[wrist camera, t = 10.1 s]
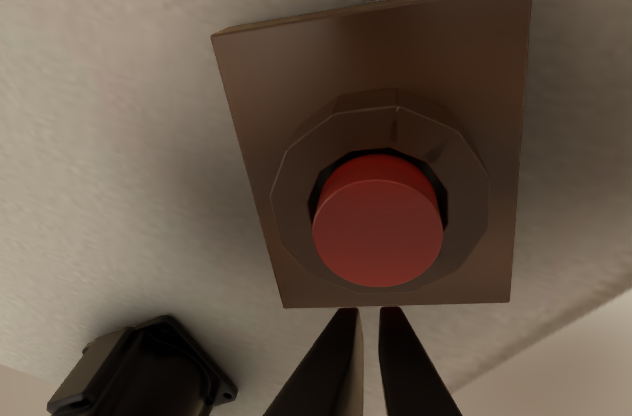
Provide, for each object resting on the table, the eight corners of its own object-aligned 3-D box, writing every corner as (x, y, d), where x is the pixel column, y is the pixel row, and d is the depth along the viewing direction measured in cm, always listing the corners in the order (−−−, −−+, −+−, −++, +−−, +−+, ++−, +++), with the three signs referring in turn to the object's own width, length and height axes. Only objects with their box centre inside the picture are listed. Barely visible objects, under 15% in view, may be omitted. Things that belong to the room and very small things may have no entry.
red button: (438, 250, 14) (444, 285, 12) (328, 255, 15) (322, 290, 13) (435, 146, 12) (442, 173, 11) (311, 159, 13) (301, 186, 11)
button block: (500, 274, 18) (523, 339, 15) (290, 283, 20) (273, 342, 17) (516, -23, 12) (558, -15, 9) (227, 27, 14) (184, 46, 11)
